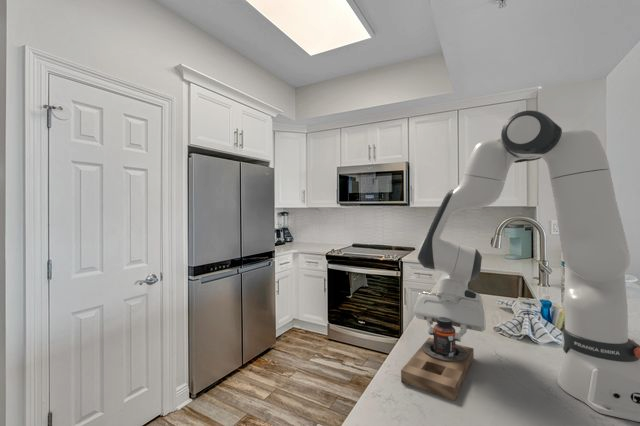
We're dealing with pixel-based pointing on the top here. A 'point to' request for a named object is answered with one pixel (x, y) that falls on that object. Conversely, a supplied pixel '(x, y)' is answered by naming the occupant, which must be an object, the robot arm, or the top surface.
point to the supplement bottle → (444, 337)
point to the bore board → (438, 370)
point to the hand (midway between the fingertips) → (443, 337)
